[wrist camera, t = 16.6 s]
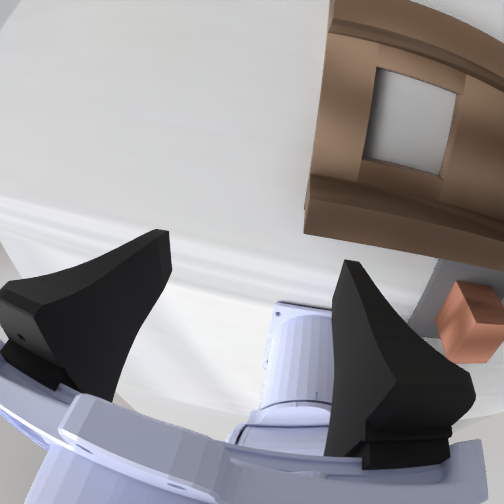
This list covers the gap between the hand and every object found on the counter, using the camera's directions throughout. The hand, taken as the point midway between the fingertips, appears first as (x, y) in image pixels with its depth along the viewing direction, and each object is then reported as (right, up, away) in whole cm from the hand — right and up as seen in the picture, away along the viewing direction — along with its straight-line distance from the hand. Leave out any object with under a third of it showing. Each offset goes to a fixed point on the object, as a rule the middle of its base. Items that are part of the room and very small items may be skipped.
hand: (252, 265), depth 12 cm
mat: (+19, -4, +10) cm, 21 cm away
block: (+19, -4, +9) cm, 21 cm away
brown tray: (+15, +8, +3) cm, 18 cm away
